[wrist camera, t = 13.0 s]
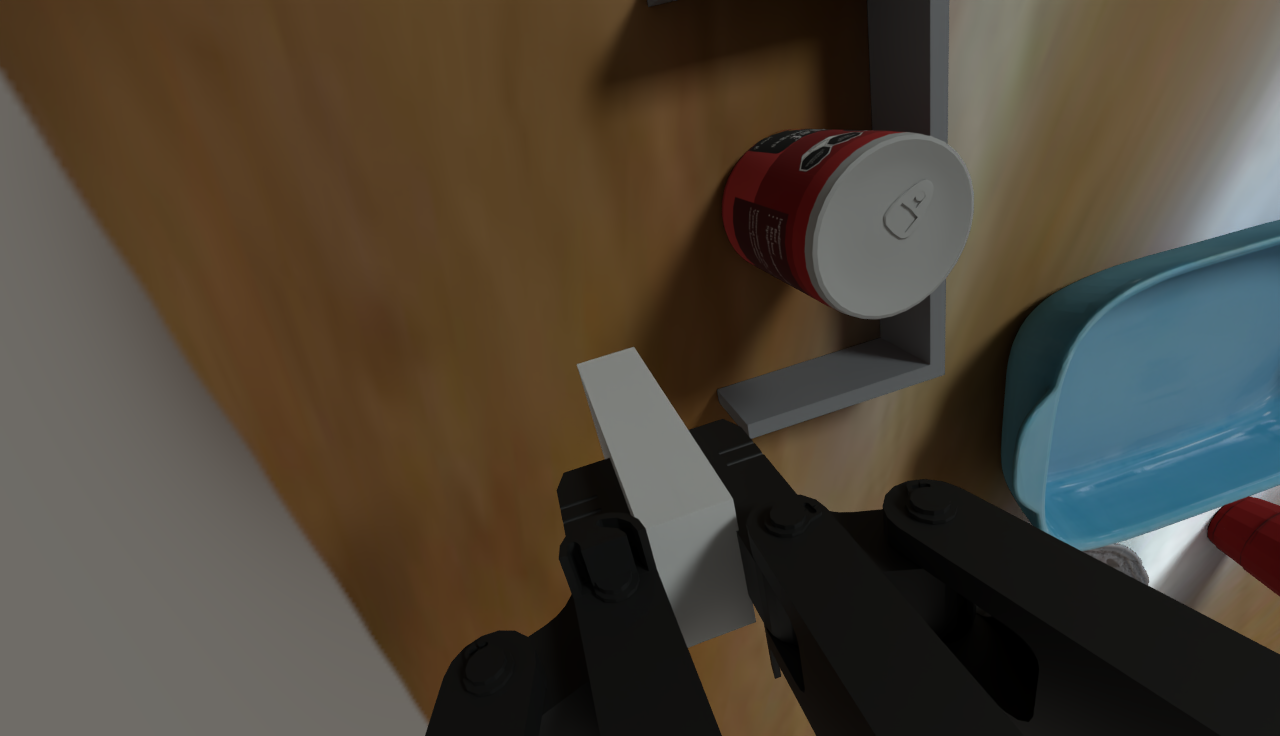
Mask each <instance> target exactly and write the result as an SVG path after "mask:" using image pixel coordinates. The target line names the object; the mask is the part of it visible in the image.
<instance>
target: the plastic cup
mask: <svg viewBox="0 0 1280 736" xmlns="http://www.w3.org/2000/svg"><path fill="white" fill-rule="evenodd" d="M1208 538H1209V539H1210V541H1211V542H1212V543H1214V544H1215V545H1216V547H1217V548H1218V549H1220V550H1221V551H1222V552H1224V553H1225V554H1226V555H1228V556H1229V557H1230V558H1232V559H1233V560H1234V561H1236V562H1237V563H1238V564H1239V565H1241V566H1242V567H1243V569H1244V570H1246V571H1247V572H1248V573H1250V574H1251V575H1252V576H1253V577H1255V578H1256V579H1257V580H1259V581H1260V582H1261V583H1263V584H1264V585H1265V586H1267V587H1268V588H1269V589H1271V590H1272V591H1273V592H1274V593H1276V594H1277V595H1278V596H1280V506H1279V505H1276V504H1273V503H1270V502H1267V501H1265V500H1262V499H1258V498H1253V497H1250V496H1248V497H1246V498H1243V499H1240V500H1237V501H1235V502H1232V503H1229V504H1226V505H1225V506H1223V507H1222V508H1221V509H1220V510H1219V511H1218V512H1217V514H1216V515H1215V516H1214V518H1213V519H1212V520H1211V523H1210V525H1209V528H1208Z"/></svg>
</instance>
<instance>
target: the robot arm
mask: <svg viewBox="0 0 1280 736" xmlns="http://www.w3.org/2000/svg"><path fill="white" fill-rule="evenodd" d="M577 367H578V370H579V374H580V377H581V380H582V384H583V387H584V390H585V394H586V397H587V401H588V404H589V407H590V411H591V414H592V417H593V421H594V424H595V428H596V431H597V434H598V438H599V441H600V444H601V448H602V451H603V454H604V457H605V460H601V461H598V462H595V463H592V464H589V465H586V466H583V467H580V468H577V469H574V470H571V471H568V472H565V473H563V476H562V478H561V481H560V484H559V486H558V489H557V494H558V499H559V505H560V509H561V515H562V520H563V523H564V530H565V535H566V537H565V538H564V540H563V542H562V543H561V545H560V551H559V560H560V563H561V566H562V569H563V571H564V574H565V577H566V579H567V582H568V585H569V587H570V590H571V593H572V594H571V597H570V599H569V600H568V602H567V604H566V606H565V607H564V608H563V609H562V611H561V612H560V613H559V614H558V615H557V616H556V617H555V618H554V619H553V620H551V621H550V622H549V623H548V624H547V625H545V626H544V627H542V628H541V629H539V630H538V631H536V632H535V633H533V634H532V635H531V636H529V637H527V636H525V635H523V634H521V633H519V632H517V631H496V632H493V633H490V634H487V635H484V636H481V637H480V638H478V639H477V640H475V641H474V642H472V643H471V644H469V645H468V646H466V647H465V648H464V649H463V650H462V651H461V652H460V653H459V654H458V655H457V657H456V658H455V659H454V660H453V661H452V662H451V664H450V666H449V668H448V670H447V672H446V674H445V676H444V678H443V681H442V684H441V687H440V690H439V694H438V697H437V700H436V703H435V706H434V709H433V713H432V716H431V719H430V722H429V725H428V728H427V732H426V735H425V736H722V735H721V733H720V730H719V727H718V725H717V722H716V720H715V717H714V715H713V712H712V709H711V707H710V704H709V702H708V699H707V697H706V694H705V691H704V689H703V686H702V684H701V681H700V679H699V676H698V673H697V671H696V668H695V666H694V663H693V661H692V658H691V655H690V653H689V650H688V647H691V646H693V645H696V644H699V643H701V642H704V641H707V640H709V639H712V638H715V637H717V636H720V635H723V634H725V633H728V632H730V631H733V630H736V629H738V628H741V627H744V626H746V625H749V624H752V623H754V622H756V619H755V614H754V609H753V604H754V606H755V608H756V610H757V611H758V613H759V615H760V617H761V619H762V620H763V622H764V627H765V632H766V638H767V643H768V649H769V655H770V660H771V666H772V670H773V673H774V677H775V679H776V678H779V677H781V672H780V669H781V671H782V672H783V674H784V676H785V678H786V680H787V682H788V684H789V685H790V687H791V689H792V691H793V693H794V695H795V697H796V699H797V700H798V702H799V704H800V706H801V708H802V710H803V712H804V714H805V715H806V717H807V719H808V721H809V723H810V725H811V727H812V729H813V730H814V732H815V734H816V736H1280V654H1278V653H1276V652H1274V651H1272V650H1270V649H1268V648H1266V647H1264V646H1262V645H1261V644H1259V643H1257V642H1255V641H1253V640H1251V639H1249V638H1247V637H1245V636H1243V635H1241V634H1239V633H1238V632H1236V631H1234V630H1232V629H1230V628H1228V627H1226V626H1224V625H1222V624H1220V623H1218V622H1216V621H1215V620H1213V619H1211V618H1209V617H1207V616H1205V615H1203V614H1201V613H1199V612H1197V611H1195V610H1193V609H1192V608H1190V607H1188V606H1186V605H1184V604H1182V603H1180V602H1178V601H1176V600H1174V599H1172V598H1170V597H1169V596H1167V595H1165V594H1163V593H1161V592H1159V591H1157V590H1155V589H1153V588H1151V587H1149V586H1147V585H1146V584H1144V583H1142V582H1140V581H1138V580H1136V579H1134V578H1132V577H1130V576H1128V575H1126V574H1124V573H1123V572H1121V571H1119V570H1117V569H1115V568H1113V567H1111V566H1109V565H1107V564H1105V563H1103V562H1101V561H1100V560H1098V559H1096V558H1094V557H1092V556H1090V555H1088V554H1086V553H1084V552H1082V551H1080V550H1078V549H1077V548H1075V547H1073V546H1071V545H1069V544H1067V543H1065V542H1063V541H1061V540H1059V539H1057V538H1055V537H1054V536H1052V535H1050V534H1048V533H1046V532H1044V531H1042V530H1040V529H1038V528H1036V527H1034V526H1033V525H1031V524H1029V523H1027V522H1025V521H1023V520H1021V519H1019V518H1017V517H1015V516H1013V515H1011V514H1010V513H1008V512H1006V511H1004V510H1002V509H1000V508H998V507H996V506H994V505H992V504H990V503H988V502H987V501H985V500H983V499H981V498H979V497H977V496H975V495H973V494H971V493H969V492H967V491H965V490H964V489H962V488H960V487H957V486H954V485H951V484H949V483H946V482H943V481H935V480H928V479H922V480H913V481H907V482H904V483H902V484H899V485H897V486H894V487H893V488H892V489H891V490H890V491H889V492H888V493H887V494H886V495H885V499H884V503H883V509H881V510H871V511H861V512H832V511H829V510H828V509H827V508H826V507H825V506H823V505H822V504H821V503H819V502H818V501H817V500H815V499H812V498H809V497H806V496H803V495H797V494H796V493H795V491H794V490H793V489H792V488H791V487H790V485H789V484H788V483H787V482H786V481H785V479H784V478H783V477H782V476H781V475H780V473H779V472H778V471H777V470H776V469H775V467H774V466H773V465H772V464H771V462H770V461H769V460H768V459H767V458H766V456H765V455H763V454H762V452H761V450H760V449H759V448H758V447H757V446H756V444H755V443H754V444H753V441H752V440H751V438H750V437H749V436H748V435H747V433H746V432H745V431H744V430H743V429H742V427H740V426H737V425H735V424H733V423H731V422H729V421H727V420H724V419H721V420H718V421H715V422H712V423H709V424H706V425H703V426H700V427H696V428H693V429H690V430H688V429H687V427H686V426H685V424H684V423H683V421H682V420H681V418H680V417H679V415H678V414H677V412H676V411H675V409H674V408H673V406H672V404H671V403H670V401H669V400H668V398H667V397H666V395H665V394H664V392H663V391H662V389H661V388H660V386H659V385H658V383H657V381H656V380H655V378H654V377H653V375H652V374H651V372H650V371H649V369H648V368H647V366H646V365H645V363H644V362H643V360H642V358H641V357H640V355H639V354H638V352H637V351H636V349H635V348H634V347H632V348H629V349H626V350H622V351H619V352H616V353H612V354H609V355H606V356H603V357H599V358H596V359H593V360H590V361H586V362H583V363H580V364H577ZM752 602H753V603H752Z"/></svg>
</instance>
